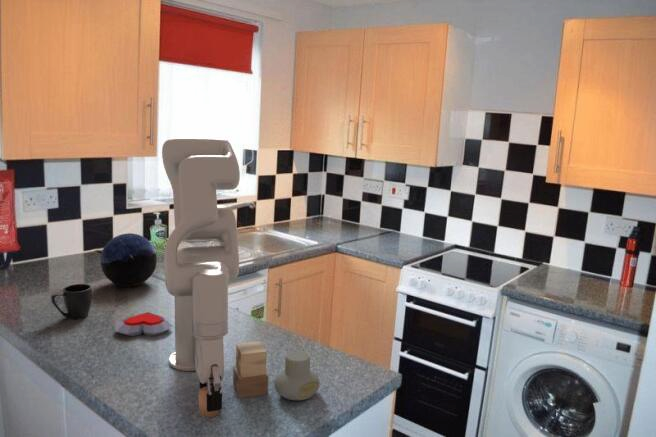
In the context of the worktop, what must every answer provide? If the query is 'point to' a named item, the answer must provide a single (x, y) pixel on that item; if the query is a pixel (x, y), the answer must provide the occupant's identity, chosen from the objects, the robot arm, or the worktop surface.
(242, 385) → the base block
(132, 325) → the sculpture
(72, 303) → the mug
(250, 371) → the top block
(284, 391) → the air freshener
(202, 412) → the brown rounded cylinder
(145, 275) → the decorative sphere
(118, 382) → the worktop surface
